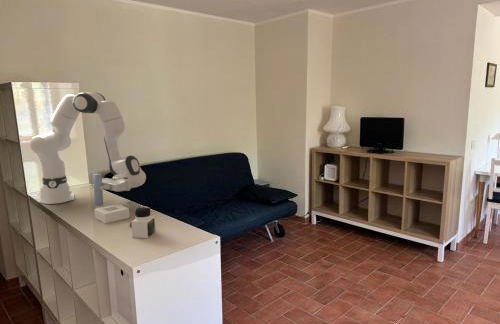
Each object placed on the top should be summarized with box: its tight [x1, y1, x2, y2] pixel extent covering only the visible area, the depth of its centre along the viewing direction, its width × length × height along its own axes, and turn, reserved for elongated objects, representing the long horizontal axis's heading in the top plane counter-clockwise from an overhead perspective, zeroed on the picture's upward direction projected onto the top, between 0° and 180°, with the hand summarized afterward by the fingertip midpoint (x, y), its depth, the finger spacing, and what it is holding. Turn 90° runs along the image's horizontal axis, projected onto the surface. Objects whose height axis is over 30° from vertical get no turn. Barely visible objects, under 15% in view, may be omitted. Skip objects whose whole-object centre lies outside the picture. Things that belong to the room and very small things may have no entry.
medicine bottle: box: [131, 206, 156, 239], centre depth 145 cm, size 7×7×12 cm
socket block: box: [93, 203, 130, 224], centre depth 168 cm, size 12×12×4 cm
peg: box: [92, 173, 104, 207], centre depth 176 cm, size 4×4×16 cm
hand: (96, 187), depth 175 cm, fingers closed on peg, 4 cm apart
